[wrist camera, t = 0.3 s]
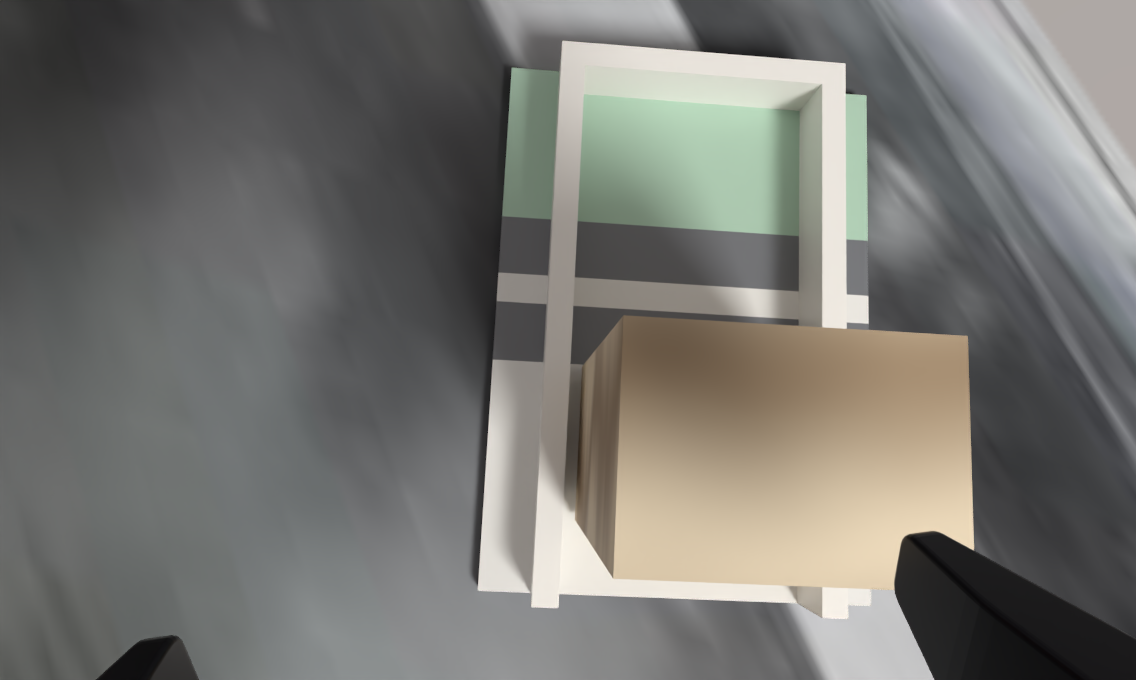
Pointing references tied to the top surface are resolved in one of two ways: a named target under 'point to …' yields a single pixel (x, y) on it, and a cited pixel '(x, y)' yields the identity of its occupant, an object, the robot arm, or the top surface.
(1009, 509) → the top surface
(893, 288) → the top surface
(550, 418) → the track
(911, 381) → the maple block
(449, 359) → the top surface
